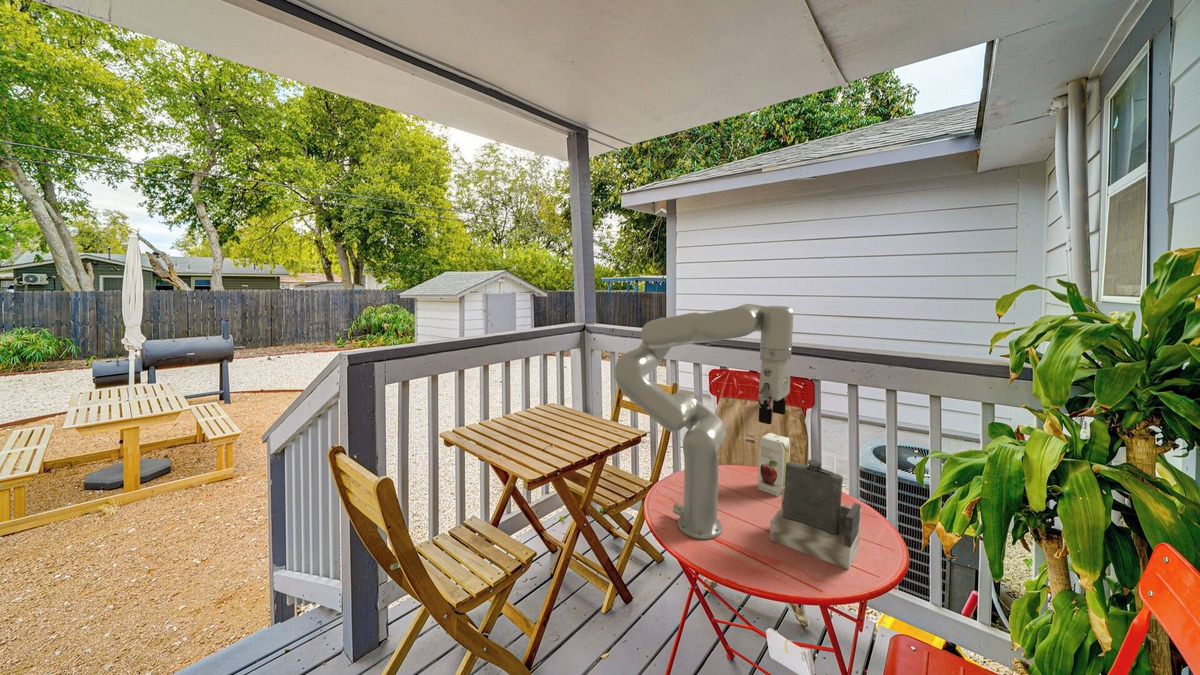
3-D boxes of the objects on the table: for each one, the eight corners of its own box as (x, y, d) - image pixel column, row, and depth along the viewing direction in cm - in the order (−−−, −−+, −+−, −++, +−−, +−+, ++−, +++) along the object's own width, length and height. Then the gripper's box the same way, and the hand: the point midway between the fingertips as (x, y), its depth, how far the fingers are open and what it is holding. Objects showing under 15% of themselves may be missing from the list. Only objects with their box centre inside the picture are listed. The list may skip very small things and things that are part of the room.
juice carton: (765, 482, 163) (768, 431, 160) (789, 490, 157) (792, 437, 154) (755, 489, 158) (757, 436, 155) (779, 498, 151) (782, 443, 149)
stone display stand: (769, 539, 129) (772, 493, 127) (782, 524, 136) (784, 480, 134) (848, 569, 116) (852, 518, 114) (857, 551, 124) (862, 502, 121)
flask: (785, 512, 132) (789, 452, 129) (840, 530, 123) (845, 466, 120) (781, 517, 129) (784, 456, 126) (836, 536, 120) (841, 471, 117)
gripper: (777, 361, 110) (774, 430, 112) (801, 351, 122) (797, 412, 125) (747, 357, 114) (744, 423, 117) (773, 347, 127) (770, 407, 130)
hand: (772, 418), depth 121 cm, fingers open, 9 cm apart
